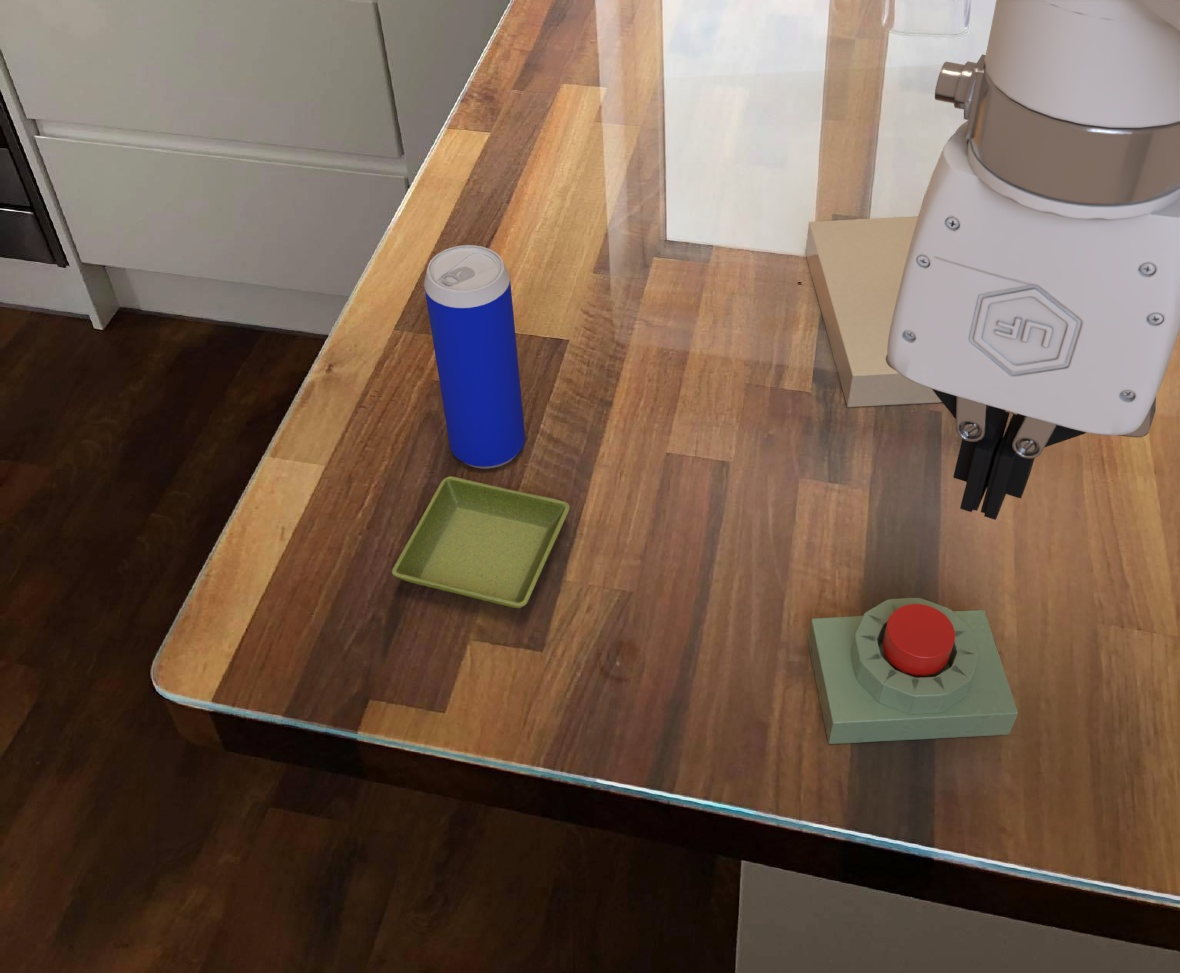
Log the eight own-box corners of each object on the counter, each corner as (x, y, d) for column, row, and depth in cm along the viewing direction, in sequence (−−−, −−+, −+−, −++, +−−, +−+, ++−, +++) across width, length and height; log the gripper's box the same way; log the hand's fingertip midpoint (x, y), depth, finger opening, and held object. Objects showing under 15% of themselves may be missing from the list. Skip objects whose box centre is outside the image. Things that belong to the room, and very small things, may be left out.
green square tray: (448, 495, 81) (445, 473, 79) (573, 523, 79) (572, 501, 77) (393, 595, 75) (389, 574, 73) (527, 628, 73) (524, 607, 71)
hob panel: (979, 244, 98) (988, 210, 95) (1055, 416, 84) (1067, 382, 82) (805, 252, 97) (809, 219, 95) (852, 426, 84) (858, 392, 82)
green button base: (976, 631, 72) (991, 589, 69) (1009, 734, 67) (1026, 694, 64) (807, 640, 72) (814, 598, 69) (828, 744, 67) (836, 704, 64)
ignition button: (940, 620, 68) (946, 601, 67) (956, 674, 66) (962, 655, 64) (876, 624, 68) (880, 604, 67) (889, 678, 66) (894, 659, 64)
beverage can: (491, 409, 86) (470, 231, 75) (541, 445, 83) (526, 266, 73) (434, 446, 84) (404, 268, 73) (484, 484, 81) (460, 306, 70)
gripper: (840, 130, 42) (799, 497, 55) (1314, 231, 37) (1143, 610, 50) (908, 37, 47) (854, 397, 60) (1338, 116, 41) (1176, 491, 55)
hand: (986, 493), depth 55 cm, fingers closed
